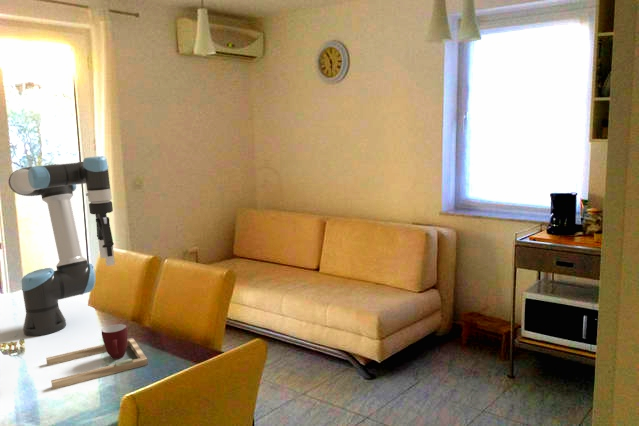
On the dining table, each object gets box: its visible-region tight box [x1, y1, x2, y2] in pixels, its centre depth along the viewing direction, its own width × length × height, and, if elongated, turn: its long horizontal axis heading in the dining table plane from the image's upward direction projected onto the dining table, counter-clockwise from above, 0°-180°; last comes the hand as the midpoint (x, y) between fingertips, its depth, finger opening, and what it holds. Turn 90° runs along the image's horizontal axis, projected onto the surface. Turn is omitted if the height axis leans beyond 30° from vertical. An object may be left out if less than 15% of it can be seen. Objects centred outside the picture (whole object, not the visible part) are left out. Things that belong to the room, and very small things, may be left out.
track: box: [45, 337, 149, 390], centre depth 184 cm, size 23×28×3 cm
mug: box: [101, 323, 129, 360], centre depth 187 cm, size 11×8×10 cm
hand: (107, 261), depth 198 cm, fingers open, 13 cm apart
